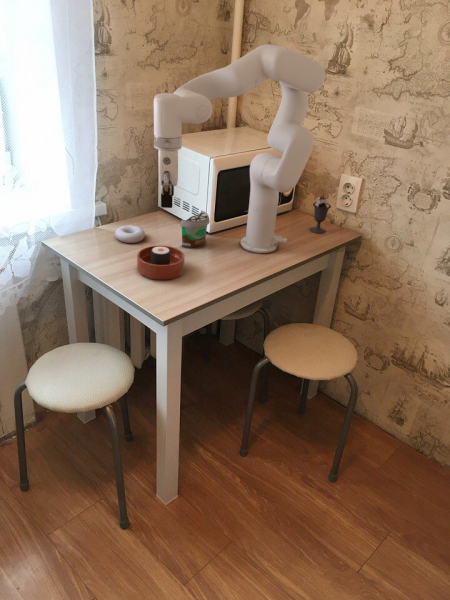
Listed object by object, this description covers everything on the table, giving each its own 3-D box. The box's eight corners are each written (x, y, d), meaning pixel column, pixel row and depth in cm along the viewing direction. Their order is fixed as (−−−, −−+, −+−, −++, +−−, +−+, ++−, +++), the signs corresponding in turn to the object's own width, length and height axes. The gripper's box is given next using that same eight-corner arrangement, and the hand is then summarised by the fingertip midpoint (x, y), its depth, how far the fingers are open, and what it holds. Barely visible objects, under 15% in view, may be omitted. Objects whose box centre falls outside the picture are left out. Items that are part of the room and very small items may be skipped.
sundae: (315, 225, 198) (322, 188, 190) (329, 231, 194) (337, 193, 186) (304, 229, 194) (311, 191, 186) (318, 235, 190) (326, 196, 182)
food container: (194, 253, 168) (196, 224, 163) (179, 248, 171) (180, 219, 166) (215, 241, 178) (217, 214, 173) (200, 236, 180) (202, 209, 175)
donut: (112, 243, 170) (142, 245, 170) (111, 234, 168) (142, 236, 168) (118, 232, 179) (147, 233, 179) (118, 222, 177) (147, 224, 177)
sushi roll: (170, 264, 159) (170, 246, 155) (169, 273, 154) (169, 254, 151) (152, 263, 158) (152, 245, 155) (150, 272, 153) (150, 253, 150)
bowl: (184, 261, 163) (185, 246, 160) (183, 282, 151) (183, 267, 148) (140, 258, 162) (140, 244, 159) (135, 279, 150) (134, 264, 147)
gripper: (180, 151, 134) (179, 212, 143) (182, 135, 149) (181, 191, 157) (151, 149, 133) (152, 211, 142) (156, 133, 148) (156, 190, 157)
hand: (167, 201), depth 150 cm, fingers open, 9 cm apart
